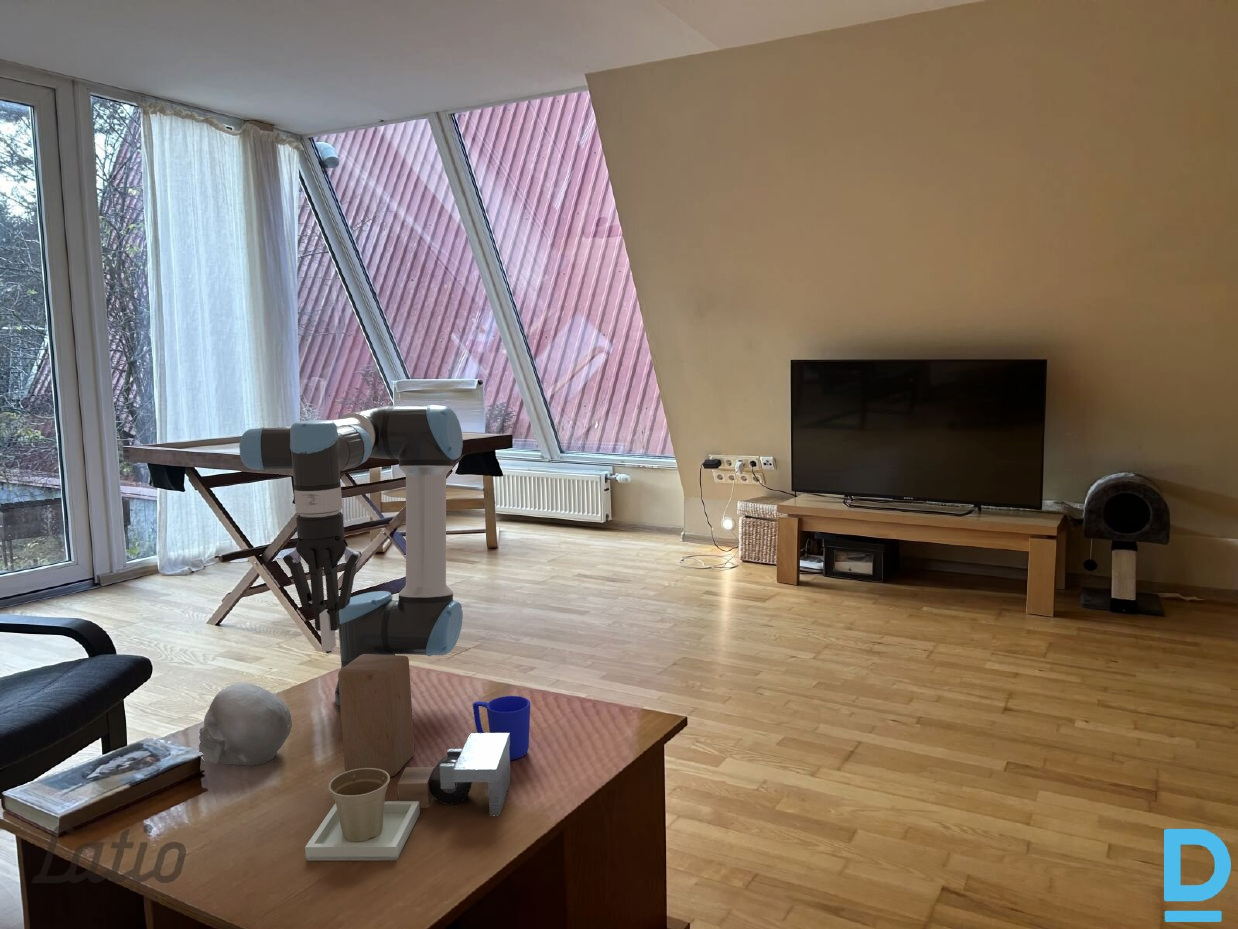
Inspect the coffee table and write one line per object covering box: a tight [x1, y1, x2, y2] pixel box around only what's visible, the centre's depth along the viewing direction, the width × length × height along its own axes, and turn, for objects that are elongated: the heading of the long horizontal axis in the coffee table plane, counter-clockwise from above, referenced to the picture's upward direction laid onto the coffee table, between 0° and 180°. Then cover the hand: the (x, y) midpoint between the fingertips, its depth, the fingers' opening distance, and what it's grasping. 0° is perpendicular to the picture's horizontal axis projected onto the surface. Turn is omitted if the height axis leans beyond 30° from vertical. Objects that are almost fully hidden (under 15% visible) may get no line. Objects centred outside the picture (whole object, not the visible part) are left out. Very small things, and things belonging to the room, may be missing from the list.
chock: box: [397, 766, 435, 809], centre depth 160 cm, size 6×5×4 cm
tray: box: [304, 800, 421, 862], centre depth 149 cm, size 14×14×2 cm
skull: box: [198, 682, 293, 766], centre depth 178 cm, size 13×18×15 cm
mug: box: [472, 695, 531, 761], centre depth 177 cm, size 8×12×10 cm
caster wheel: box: [429, 732, 512, 817], centre depth 159 cm, size 14×12×9 cm
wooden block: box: [337, 654, 415, 778], centre depth 172 cm, size 10×10×20 cm
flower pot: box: [328, 768, 391, 841], centre depth 148 cm, size 9×9×9 cm
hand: (329, 648), depth 160 cm, fingers closed
